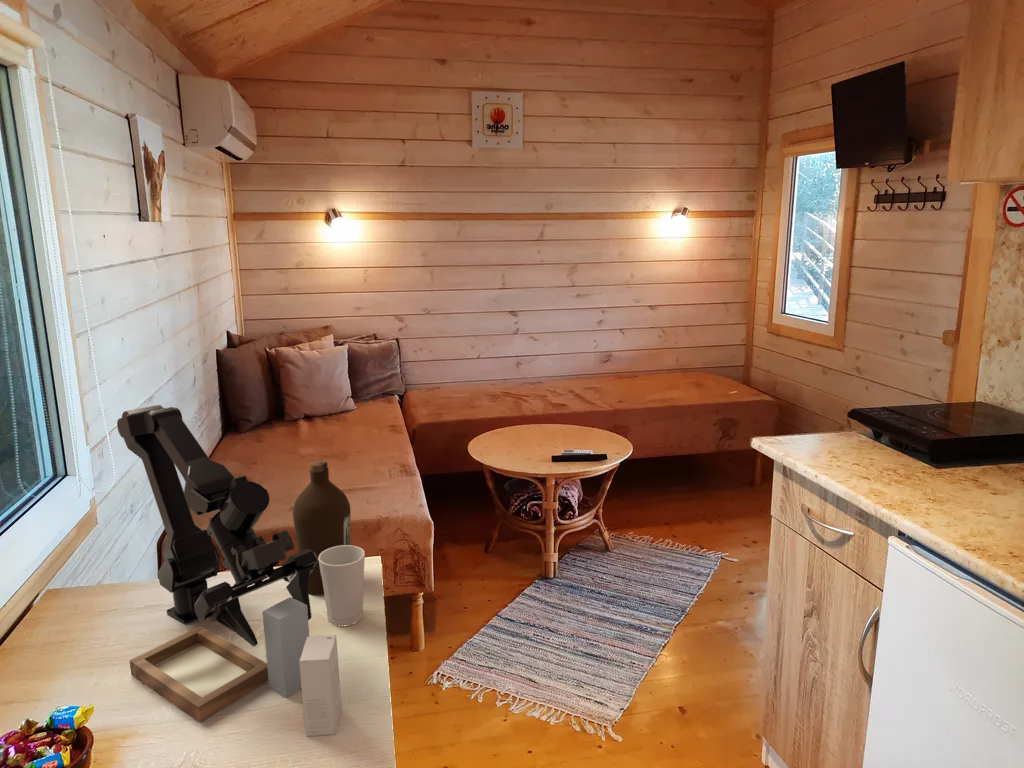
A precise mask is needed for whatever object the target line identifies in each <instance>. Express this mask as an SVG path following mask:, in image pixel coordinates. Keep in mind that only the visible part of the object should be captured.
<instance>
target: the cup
mask: <svg viewBox="0 0 1024 768" xmlns="http://www.w3.org/2000/svg"><path fill="white" fill-rule="evenodd" d="M365 553H366V552H365V550H364V549H363V548H361V547H360V546H356V545H352V544H351V545H341V546H335V547H332V548H329V549H326V550H324V551H323V552H322V553H321V554H320V555H319V557H318V559H319V566H320V572H321V576H322V581H323V588H324V595H323V596H324V601H325V606H326V618H327V619H326V621H327V622H328V623H329V624H330V623H331V624H330V625H332V624H333V625H332V626H334V625H336V626H335V627H345V626H344V625H349V624H352V625H354V624H353V623H355V622H357V621H359V620H360V619H361V618H362V617H364V590H365V588H364V586H365V585H364V584H365V583H364V582H365V562H366V561H365V559H366V558H365V557H366V554H365ZM362 619H363V618H362ZM362 619H361V620H362ZM361 620H360V621H361ZM360 621H359V622H360ZM357 623H358V622H357ZM355 624H356V623H355ZM339 625H340V626H339ZM342 625H343V626H342ZM349 626H350V625H349Z"/></svg>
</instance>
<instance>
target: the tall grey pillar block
mask: <svg viewBox="0 0 1024 768" xmlns="http://www.w3.org/2000/svg"><path fill="white" fill-rule="evenodd" d="M262 622H263V632H264V644H265V654H266V655H265V657H266V663H267V668H268V680H269V681H268V688H269V689H270V690H271V691H273V692H275V693H277V694H278V695H280V696H282V697H283V698H285V699H287V698H289V697H290V696H291V695H293V694H294V693H296V692H298V691H299V690H302V688H301V676H300V664H299V661H300V658H301V655H302V652H303V648H304V645H305V642H306V639H307V637H310V628H309V627H310V623H309V620H308V609H307V605H306V604H304V603H302V602H300V601H297V600H295V599H293V598H292V596H289V597H288V598H286V599H284V600H282V601H280V602H278V603H276V604H274V605H272V606H270V607H268V608H266V609H264V610H262Z"/></svg>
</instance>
